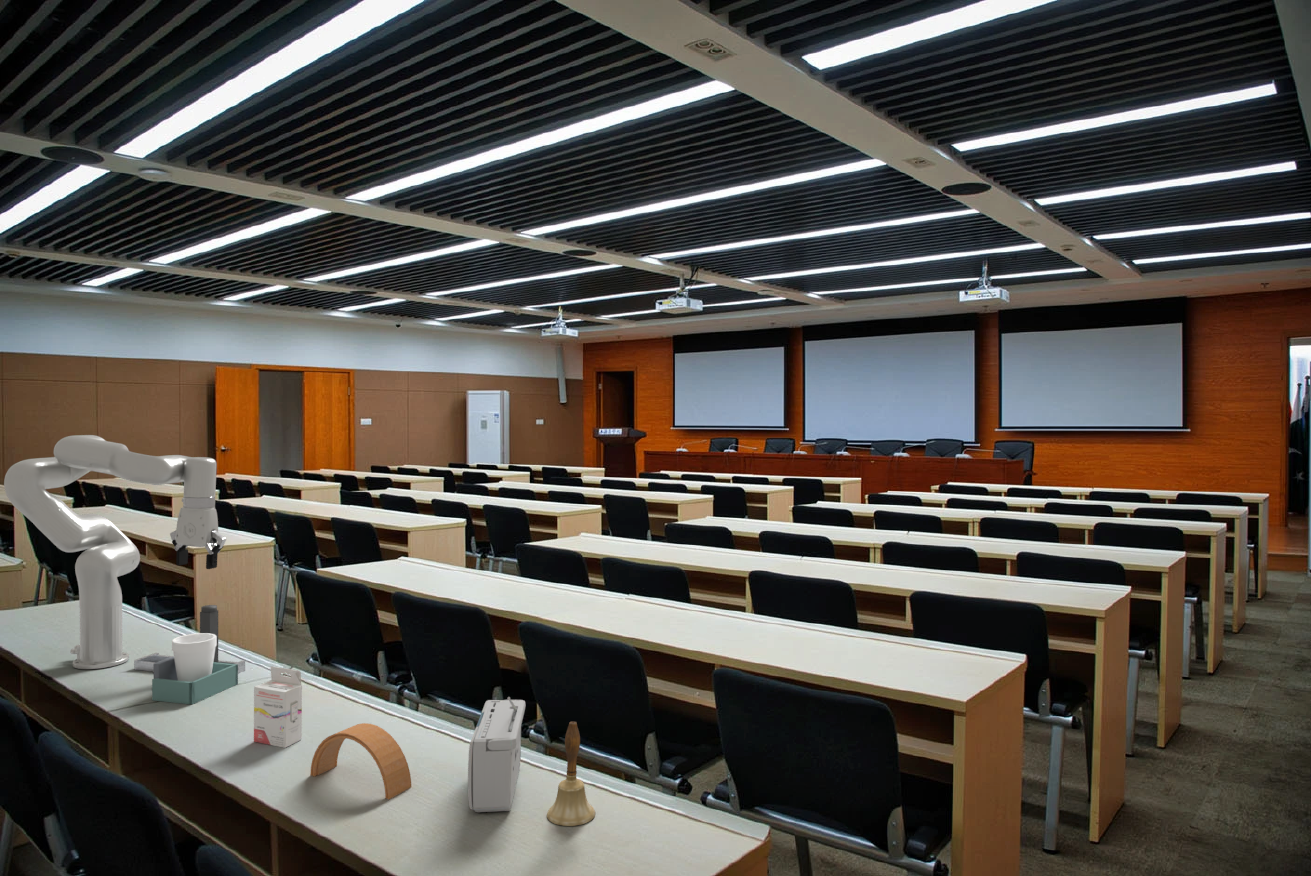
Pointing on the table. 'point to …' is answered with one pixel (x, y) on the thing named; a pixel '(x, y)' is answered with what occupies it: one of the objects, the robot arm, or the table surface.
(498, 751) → the stereo radio cassette player
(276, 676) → the ink cartridge box
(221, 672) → the box
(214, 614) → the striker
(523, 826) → the table surface
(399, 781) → the arch
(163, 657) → the striker rails
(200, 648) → the foam cup
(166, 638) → the table surface
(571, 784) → the hand bell
